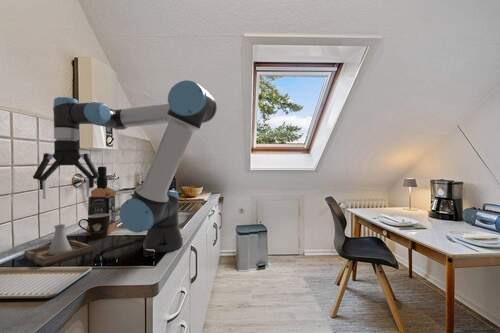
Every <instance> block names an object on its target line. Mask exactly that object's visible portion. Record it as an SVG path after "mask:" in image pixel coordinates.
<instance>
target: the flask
mask: <svg viewBox="0 0 500 333" xmlns="http://www.w3.org/2000/svg"><path fill="white" fill-rule="evenodd" d="M53 227H54V235H53V238H52V241H51V243H50V244H49V245H50V247H49V250H48V252H47V253H48V255H58V254H62V253H65V252H69V251H72V248H71V246H70V244H69V242H68V238H67V235H66V232H65V227H66V224H64V223H60V224H56V225H55V224H54V226H53Z"/></svg>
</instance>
